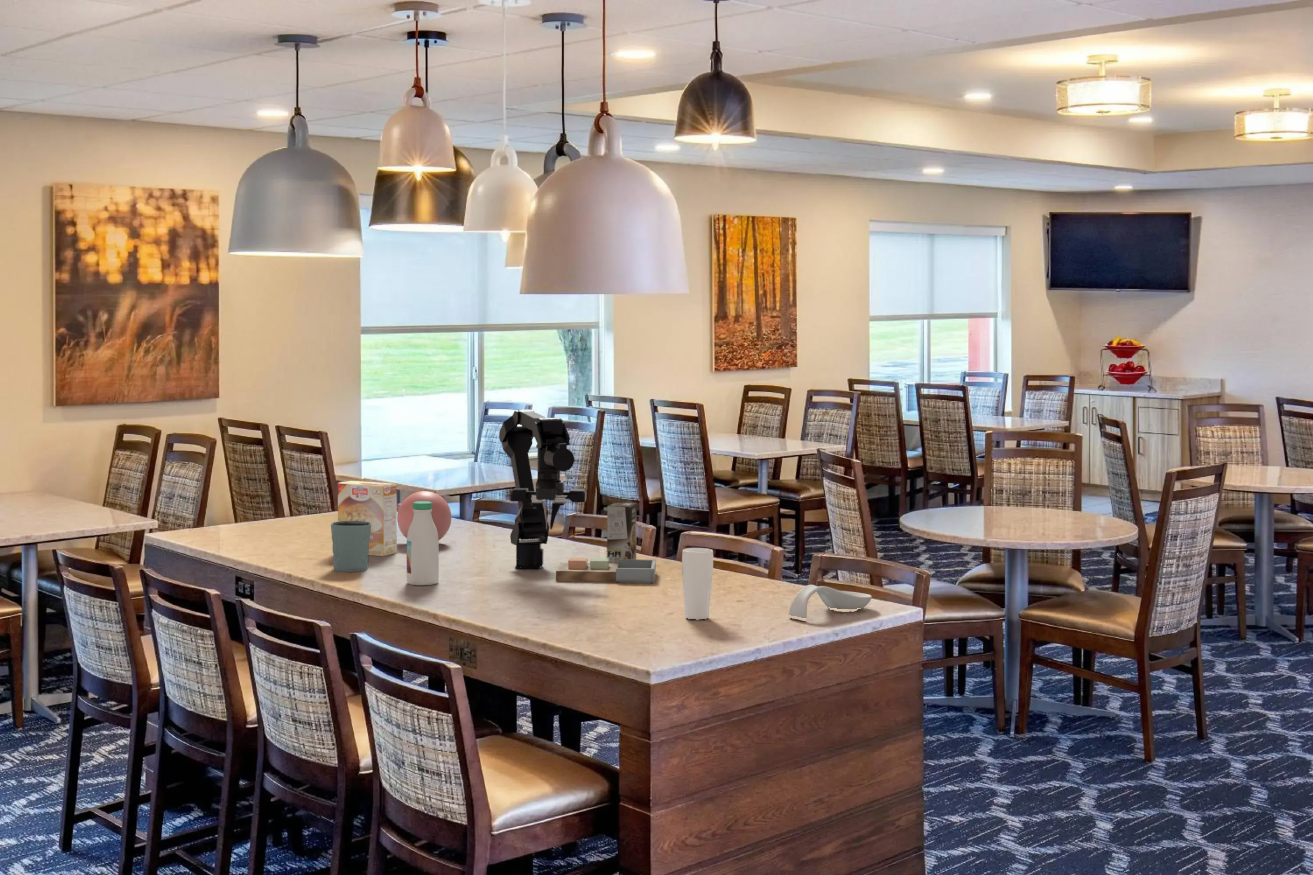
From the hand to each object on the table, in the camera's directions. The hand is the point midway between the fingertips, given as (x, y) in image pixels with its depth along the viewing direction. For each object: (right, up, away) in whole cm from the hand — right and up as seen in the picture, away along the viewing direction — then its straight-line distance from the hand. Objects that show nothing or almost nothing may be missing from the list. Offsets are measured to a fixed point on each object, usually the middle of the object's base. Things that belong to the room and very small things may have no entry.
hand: (548, 529), depth 351 cm
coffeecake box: (-53, -9, +34) cm, 63 cm away
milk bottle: (-30, -13, -10) cm, 34 cm away
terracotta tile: (+7, -10, +1) cm, 12 cm away
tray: (+22, -12, 0) cm, 25 cm away
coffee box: (+18, -11, +20) cm, 29 cm away
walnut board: (+10, -12, +1) cm, 16 cm away
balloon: (-41, -8, +52) cm, 67 cm away
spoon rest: (+66, -17, -41) cm, 79 cm away
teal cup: (-51, -11, +8) cm, 53 cm away
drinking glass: (+36, -16, -48) cm, 62 cm away
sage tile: (+13, -10, 0) cm, 16 cm away
